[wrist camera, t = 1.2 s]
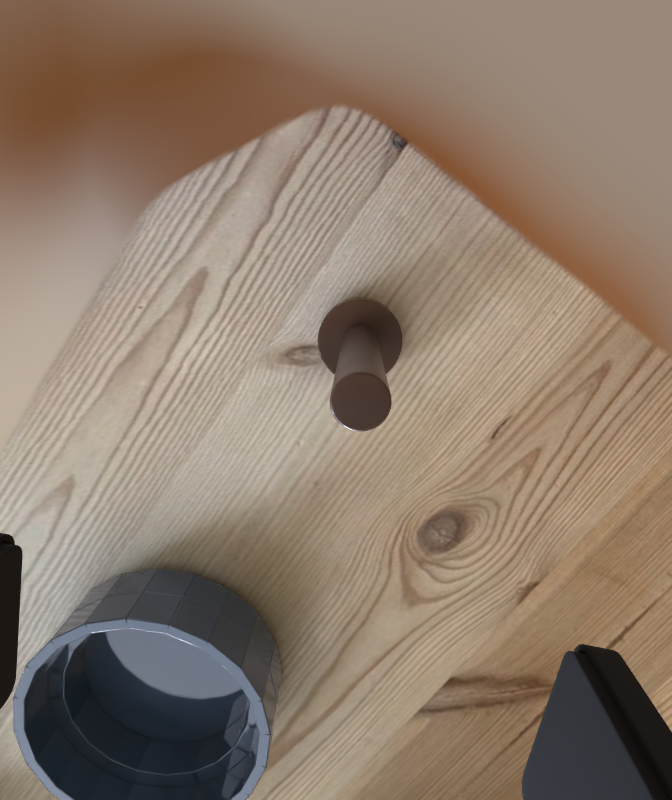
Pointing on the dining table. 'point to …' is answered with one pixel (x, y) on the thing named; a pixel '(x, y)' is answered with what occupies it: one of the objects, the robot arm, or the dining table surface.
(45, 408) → the dining table surface
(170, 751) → the bowl
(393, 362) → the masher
